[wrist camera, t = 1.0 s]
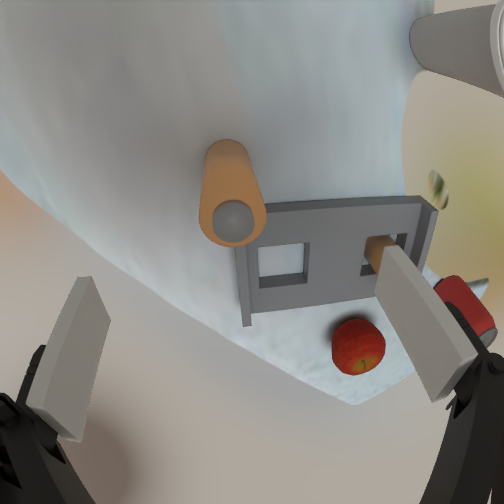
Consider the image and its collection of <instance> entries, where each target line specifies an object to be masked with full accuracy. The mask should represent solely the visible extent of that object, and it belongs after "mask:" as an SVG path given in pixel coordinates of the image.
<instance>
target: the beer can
mask: <svg viewBox="0 0 504 504" xmlns="http://www.w3.org/2000/svg"><path fill="white" fill-rule="evenodd" d="M434 290H435V292H436V293H437V295H438V296H439V297H440V299H441V300H442V301H443V302H447V301H450V302H451V303H452V304H454V305H455V306H456V307H457V308H459V310H460V311H461V312H462V314H463V315H464V317H465V319H467V321H468V322H469V324H470V326H472V328H473V329H474V331H475V332H476V334H477V335H478V337H479V338H480V340H481V341H482V343H483V344H484V346H485V347H486V349H487V348H488V347H489V346H490V345H491V344H492V342H493V341H494V340H495V338H496V336H497V333H498V331H497V329H496V327H495V323H494V320H493V317H492V316H491V315H490V313H489V312H488V311H487V309H486V308H485V307H484V305H483V304H482V303H481V302H480V300H479V299H478V298H477V296H476V295H475V294H474V293H473V292H472V290H471V289H470V288H469V287H468V286H467V284H466V283H465V282H464V281H463V280H462V279H461V278H460V277H459V276H455V275H452V276H449V277H447V278H445V279H443V280H442V281H441V282H440V283H439V284H438V285H437V286H436V287H435V289H434Z"/></svg>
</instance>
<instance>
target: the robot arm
mask: <svg viewBox="0 0 504 504" xmlns="http://www.w3.org/2000/svg"><path fill="white" fill-rule="evenodd" d="M374 294H375V295H376V297H377V299H378V301H379V302H380V304H381V306H382V308H383V309H384V311H385V313H386V315H387V317H388V318H389V320H390V322H391V324H392V326H393V327H394V329H395V331H396V333H397V335H398V337H399V338H400V340H401V342H402V344H403V346H404V348H405V350H406V352H407V353H408V355H409V357H410V359H411V361H412V363H413V365H414V367H415V369H416V371H417V373H418V375H419V377H420V379H421V381H422V383H423V385H424V387H425V389H426V391H427V393H428V396H429V397H430V400H431V402H432V403H433V402H436V401H438V400H441V399H443V398H446V397H447V396H448V395H449V394H450V393H451V391H452V390H453V389H454V390H455V392H456V395H455V397H454V398H453V399H452V400H451V401H450V403H449V404H448V405H447V407H446V410H448V409H449V408H450V407H451V406H452V408H451V412H450V416H449V420H448V424H447V428H446V431H445V435H444V438H443V441H442V444H441V448H440V451H439V454H438V457H437V460H436V463H435V465H434V468H433V471H432V474H431V476H430V479H429V482H428V484H427V487H426V489H425V492H424V494H423V497H422V499H421V501H420V503H419V504H487V502H488V499H489V495H490V492H491V488H492V493H491V494H492V495H491V504H504V358H503V357H502V356H501V355H499V354H497V353H489V351H488V350H487V349H486V347H485V346H484V344H483V343H482V341H481V340H480V338H479V337H478V335H477V334H476V332H475V331H474V329H473V328H472V326H470V324H469V322H468V321H467V319H465V317H464V315H463V314H462V312H461V311H460V310H459V308H457V307H456V306H455V305H454V304H452V303H451V302H450V301H447V302H443V301H442V300H441V299H440V297H439V296H438V295H437V293H436V292H435V290H434V289H433V288H432V287H431V285H430V284H429V283H428V281H427V280H426V279H425V277H424V276H423V275H422V274H421V272H420V271H419V270H418V268H417V267H416V266H415V265H414V263H413V262H412V261H411V260H410V259H409V257H408V256H407V255H406V254H405V252H404V251H403V250H402V249H401V248H400V246H399V245H396V246H387V247H384V252H383V257H382V261H381V266H380V270H379V275H378V279H377V283H376V287H375V291H374ZM110 322H111V320H110V317H109V315H108V313H107V311H106V309H105V307H104V304H103V302H102V300H101V297H100V295H99V293H98V290H97V288H96V286H95V283H94V281H93V279H92V277H91V276H88V277H78V278H77V279H76V281H75V283H74V285H73V287H72V289H71V292H70V294H69V296H68V298H67V300H66V302H65V304H64V306H63V308H62V311H61V313H60V315H59V317H58V319H57V322H56V324H55V326H54V328H53V331H52V334H51V336H50V338H49V340H48V343H47V345H40V347H39V348H38V349H37V350H36V352H35V353H34V354H33V357H32V359H31V361H30V366H29V367H28V369H27V372H26V375H25V377H24V380H23V383H22V386H21V388H20V391H19V394H18V397H17V400H16V403H15V402H14V401H13V400H12V399H11V398H10V397H9V396H8V395H6V394H5V393H0V504H95V502H94V501H93V499H92V498H91V496H90V495H89V493H88V491H87V490H86V488H85V487H84V485H83V484H82V482H81V480H80V479H79V477H78V476H77V474H76V472H75V470H74V469H73V467H72V465H71V463H70V462H69V460H68V458H67V456H66V454H65V452H64V450H63V449H62V447H61V445H60V443H59V442H58V441H57V436H58V434H59V435H60V436H62V437H63V438H64V439H65V440H68V441H74V442H81V443H82V438H83V432H84V427H85V422H86V417H87V412H88V407H89V402H90V398H91V394H92V389H93V384H94V381H95V376H96V372H97V368H98V364H99V361H100V357H101V353H102V349H103V346H104V342H105V339H106V335H107V332H108V328H109V325H110Z"/></svg>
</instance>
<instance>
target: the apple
mask: <svg viewBox="0 0 504 504" xmlns="http://www.w3.org/2000/svg"><path fill="white" fill-rule="evenodd" d="M385 347H386V343H385V339H384V337H383V335H382V333H381V332H380V331H379V330H378V329H377V328H376V327H375V326H374V325H373V324H372V323H371V322H369V321H367V320H363V319H352V320H349V321H346V322H345V323H343V324H342V325H340V326H339V327H338V328H337V329H336V330H335V332H334V334H333V337H332V359H333V362H334V364H335V365H336V367H337V368H338V369H339V370H340V371H341V372H342V373H345V374H349V375H359V374H363V373H365V372H368V371H370V370H371V369H373V368H375V367H376V366H377V365H378V364H379V363H380V362H381V360H382V359H383V356H384V354H385Z"/></svg>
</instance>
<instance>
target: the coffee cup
mask: <svg viewBox="0 0 504 504" xmlns="http://www.w3.org/2000/svg"><path fill="white" fill-rule="evenodd" d="M410 45H411V49H412V52H413V54H414V56H415V58H416V59H417V61H418V62H419V63H420V64H421V65H422V66H423V67H424V68H426V69H427V70H429V71H432V72H435V73H438V74H442V75H445V76H448V77H451V78H454V79H457V80H460V81H463V82H466V83H468V84H471V85H474V86H477V87H479V88H482V89H484V90H487V91H489V92H492V93H494V94H497V95H499V96H501V97H503V98H504V0H500V1H499V2H498V3H497V4H494V5H486V6H479V7H473V8H466V9H460V10H454V11H450V12H444V13H440V14H435V15H430V16H426V17H422V18H419V19H418V20H416V21H415V22H414V24H413V25H412V27H411V30H410Z"/></svg>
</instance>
